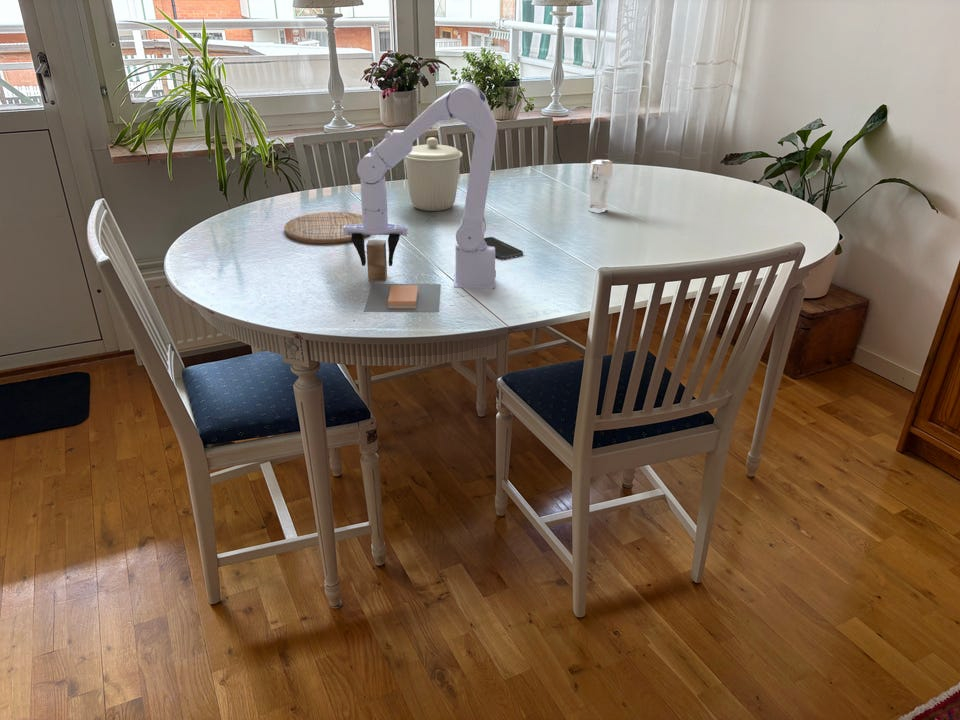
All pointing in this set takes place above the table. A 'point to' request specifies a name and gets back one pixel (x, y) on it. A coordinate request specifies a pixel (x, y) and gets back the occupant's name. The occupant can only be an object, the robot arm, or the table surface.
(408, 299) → the flat slab
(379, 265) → the wooden block
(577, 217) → the table surface
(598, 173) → the beer glass
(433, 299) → the rubber mat
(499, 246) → the phone
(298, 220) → the trivet
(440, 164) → the canister
